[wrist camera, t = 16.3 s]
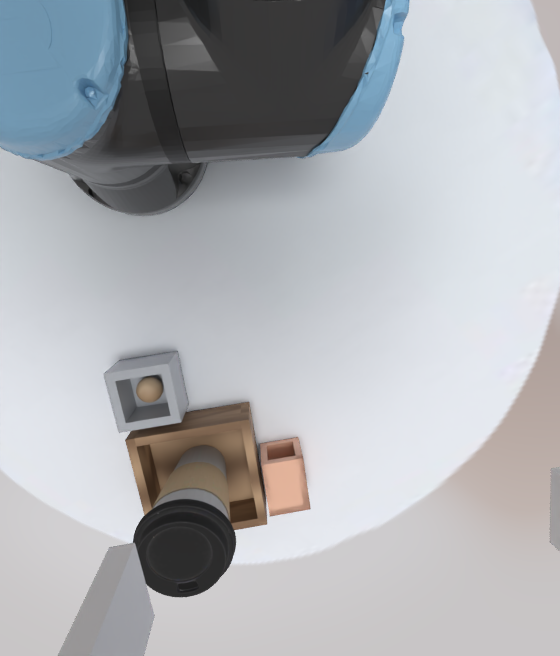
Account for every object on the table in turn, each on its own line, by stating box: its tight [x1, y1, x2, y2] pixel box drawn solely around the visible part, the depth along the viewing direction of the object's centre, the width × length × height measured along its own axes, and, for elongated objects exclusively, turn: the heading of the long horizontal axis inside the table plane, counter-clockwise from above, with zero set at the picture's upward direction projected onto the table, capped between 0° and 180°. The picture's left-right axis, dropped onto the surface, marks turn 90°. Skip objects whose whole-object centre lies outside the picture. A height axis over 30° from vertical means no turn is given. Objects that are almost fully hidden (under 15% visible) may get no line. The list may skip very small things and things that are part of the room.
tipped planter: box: [260, 437, 310, 516], centre depth 47 cm, size 7×5×5 cm
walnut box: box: [125, 402, 267, 530], centre depth 46 cm, size 14×14×5 cm
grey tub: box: [104, 351, 189, 433], centre depth 43 cm, size 7×7×5 cm
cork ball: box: [136, 377, 163, 403], centre depth 44 cm, size 3×3×3 cm
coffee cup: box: [133, 445, 236, 597], centre depth 40 cm, size 9×9×15 cm
